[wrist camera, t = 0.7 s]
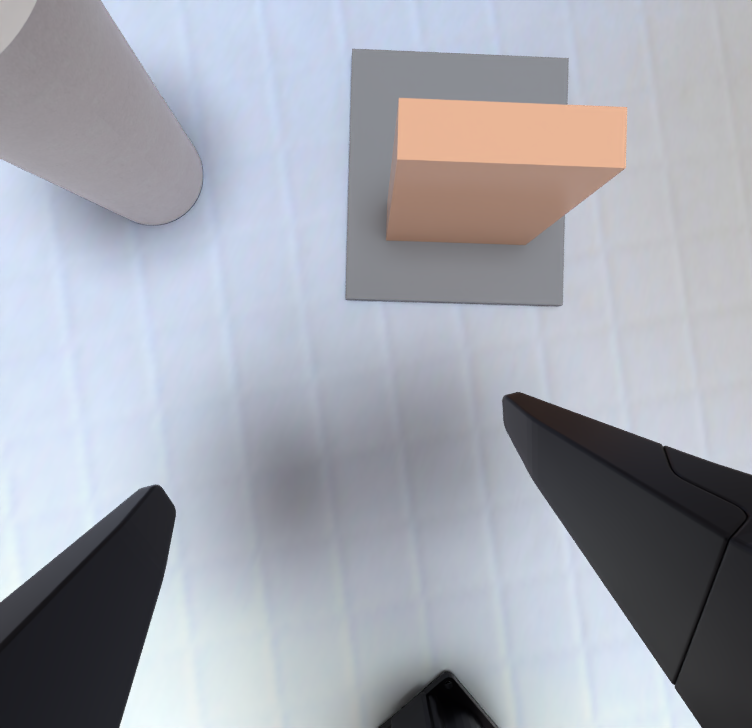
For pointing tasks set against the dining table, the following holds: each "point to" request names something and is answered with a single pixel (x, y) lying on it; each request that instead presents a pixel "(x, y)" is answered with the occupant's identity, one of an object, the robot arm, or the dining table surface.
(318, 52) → the dining table surface
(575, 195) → the tile
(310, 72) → the dining table surface
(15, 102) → the coffee cup
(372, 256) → the mat
